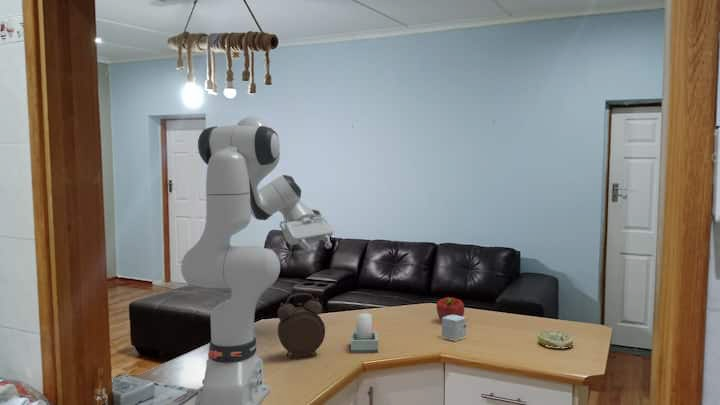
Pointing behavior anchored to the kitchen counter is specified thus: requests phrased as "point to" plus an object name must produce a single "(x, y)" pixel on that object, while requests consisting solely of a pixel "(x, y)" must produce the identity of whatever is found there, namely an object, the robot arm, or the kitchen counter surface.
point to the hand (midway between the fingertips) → (320, 249)
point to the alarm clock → (301, 326)
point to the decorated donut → (555, 339)
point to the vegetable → (450, 307)
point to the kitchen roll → (364, 326)
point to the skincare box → (453, 327)
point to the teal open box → (364, 344)
